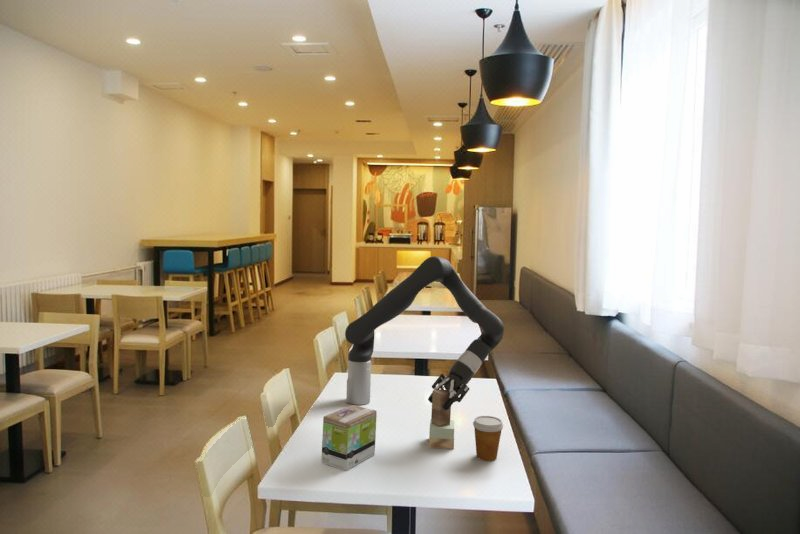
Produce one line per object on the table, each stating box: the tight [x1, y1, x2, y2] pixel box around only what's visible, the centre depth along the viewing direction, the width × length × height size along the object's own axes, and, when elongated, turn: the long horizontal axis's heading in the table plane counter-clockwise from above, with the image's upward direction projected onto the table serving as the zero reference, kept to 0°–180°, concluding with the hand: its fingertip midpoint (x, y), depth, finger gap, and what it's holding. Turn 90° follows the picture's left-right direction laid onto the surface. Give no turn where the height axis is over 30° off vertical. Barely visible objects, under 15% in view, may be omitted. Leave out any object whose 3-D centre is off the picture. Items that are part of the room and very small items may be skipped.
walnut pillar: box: [430, 389, 452, 427], centre depth 192 cm, size 4×4×11 cm
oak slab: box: [428, 438, 455, 450], centre depth 193 cm, size 8×8×4 cm
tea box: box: [320, 404, 378, 472], centre depth 178 cm, size 15×10×15 cm, turn 148°
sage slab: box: [428, 419, 455, 440], centre depth 193 cm, size 8×8×4 cm
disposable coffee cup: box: [472, 415, 504, 462], centre depth 183 cm, size 10×10×12 cm
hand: (436, 405), depth 191 cm, fingers open, 7 cm apart
